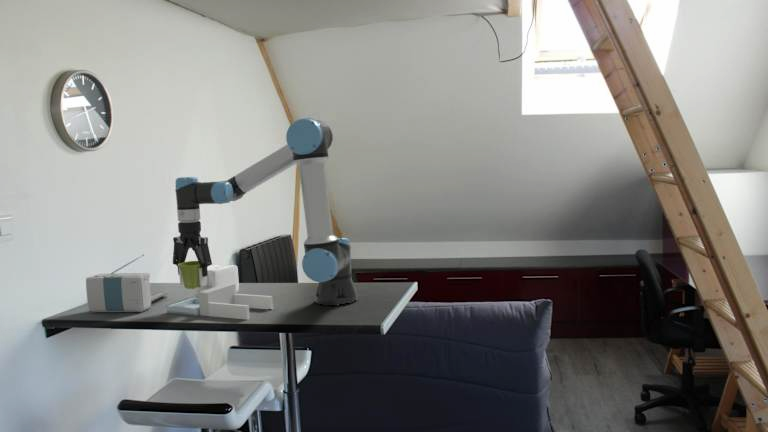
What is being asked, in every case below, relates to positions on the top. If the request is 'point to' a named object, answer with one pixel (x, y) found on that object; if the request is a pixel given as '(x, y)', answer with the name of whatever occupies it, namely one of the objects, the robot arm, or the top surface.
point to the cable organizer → (219, 278)
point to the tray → (185, 307)
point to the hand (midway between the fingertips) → (193, 284)
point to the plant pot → (190, 274)
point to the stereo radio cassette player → (118, 292)
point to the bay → (231, 302)
